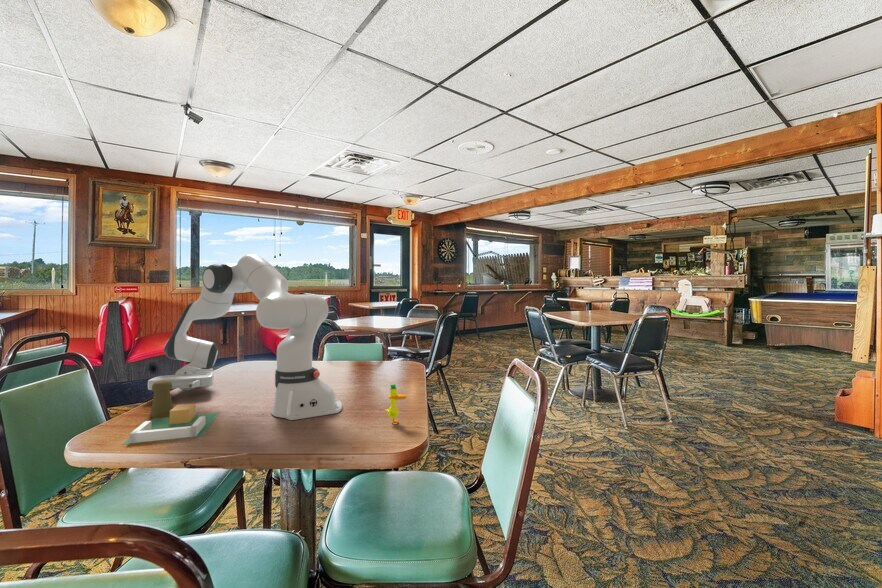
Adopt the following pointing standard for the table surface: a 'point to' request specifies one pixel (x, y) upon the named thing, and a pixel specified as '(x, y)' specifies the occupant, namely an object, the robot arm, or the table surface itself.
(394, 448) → the table surface
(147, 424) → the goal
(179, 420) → the yellow block
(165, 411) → the cork
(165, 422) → the mat
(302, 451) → the table surface
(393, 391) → the toy figure
